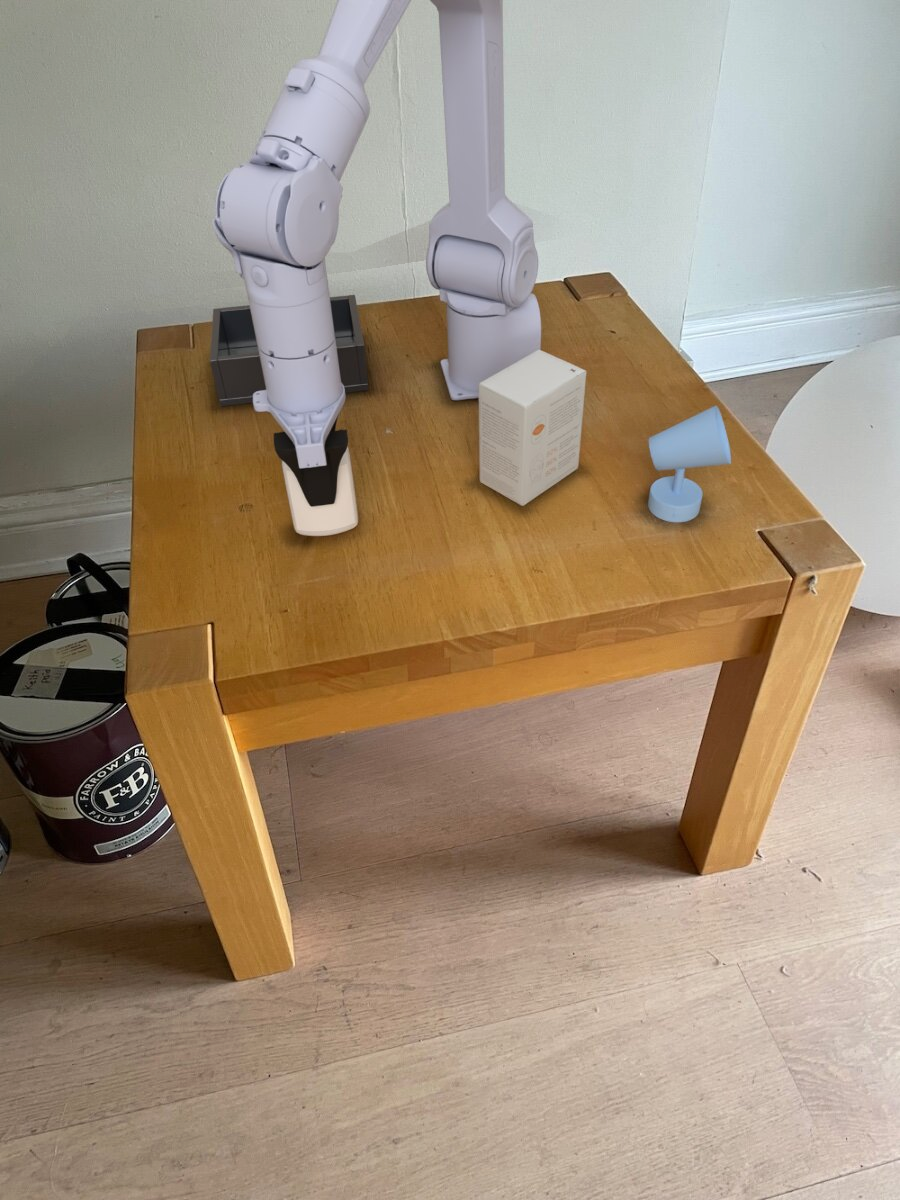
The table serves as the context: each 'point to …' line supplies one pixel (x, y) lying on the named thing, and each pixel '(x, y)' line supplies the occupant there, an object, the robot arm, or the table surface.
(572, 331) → the table surface
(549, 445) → the small box
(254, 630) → the table surface
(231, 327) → the open rectangular box
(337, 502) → the eye dropper bottle
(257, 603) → the table surface
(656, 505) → the spotlight
